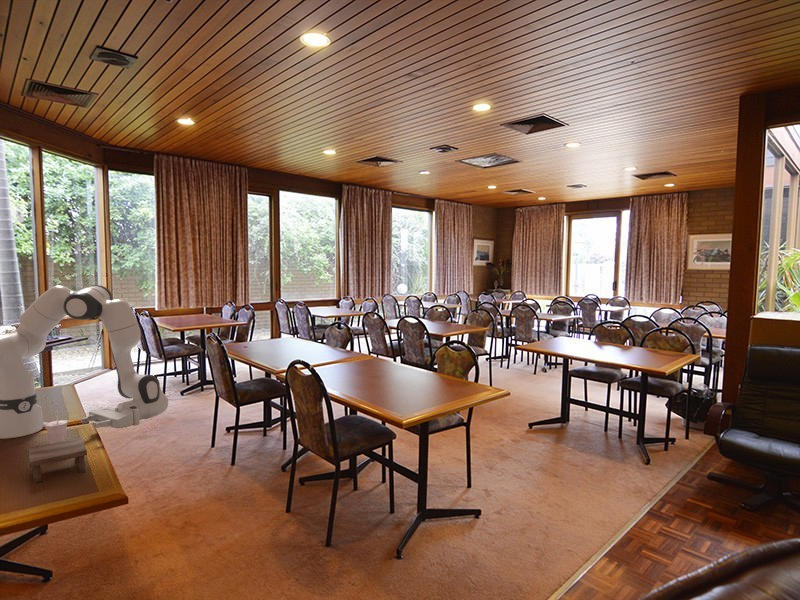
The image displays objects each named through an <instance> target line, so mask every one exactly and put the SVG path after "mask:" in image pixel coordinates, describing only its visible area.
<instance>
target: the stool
mask: <svg viewBox="0 0 800 600" xmlns="http://www.w3.org/2000/svg"><path fill="white" fill-rule="evenodd" d="M87 451H88V450H87V447H86V444H85V443H84V440H83V437H78V438H72V439H67V440H66V439H65V441H61V442H56V443H51V444H50V443H47V444H42V445H35V446H32V447H28V456H29V457H28V459H29V468H32V478H33V484H39V483H40V482H42V475H41V474H42V473H41V466H42V465H48V464H53V463H56V462H61V461H66V460H71V459H74V462H77V472H78V473H79V474H81V473H84V472H85V471H86V467H85V466H86V465H85V456H88V452H87Z"/></svg>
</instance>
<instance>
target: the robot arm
mask: <svg viewBox="0 0 800 600" xmlns="http://www.w3.org/2000/svg"><path fill="white" fill-rule="evenodd" d="M66 316H69V318H71V319H74V320H81V321H84V320H85V321H87V320H89V321H90V320H91V321H95V320H98V319H100V320H101V322H102V323H103V325H104V327H105V331H106V333H107V335H108V340H109V342H110V350H111V356H112V360H113V364H114V366H115V370H116V374H117V391H118V394H119V395H120V396H121V397H122V398H125V399H129V400H128V401H123V402H120V403H118V404H117V406H116V407H110V406H108V407H106V406H105V407H101V408H95V409H92V410H89V412H88V415H87V416H85V417H82V418H80V423H82V424H88V423H89V422H94V424H93V427H94V428H95V429H99V428H100V429H101V428H105V427H110V428H112V429H123V428H127V427H128V428H129V427H131V426H133V427H135V426H139V425H140V421H141V420H148V419H151V418H154V417H157V416H159V415H162V414H163V413H164V412H166V411H167V409H168V407H169V399H168V396H167V395H166V394H165V393H164V392H163V390H162V388H161V384H160V380H159V379H158V377H157V376H155V375H152V374H139V373H138V372H137V371H136V369H135V367H134V363H133V359H132V354H131V351H132V349H133V348H134V347H135V346H136V345H138V344H139V342H140V340H141V338H142V333H141V328H140V325H139V322H138V320H137V318H136V315H135V313H134V311H133V309H132V308H131V306H130V304H129V303H128V302H127V301H126V300H125V299H118V298H115V299H113V294H112V292H111V291H110V289H109V288H108V287H106V286H103V285H98V284H97V285H96V284H94V285H88V286H86V287H82V288H79V289H78V290H72V289H71V288H69V287H67V286H64V285H58V284H57V285H54V286H51V287H50V288H48V289H47V290H46V291H44V292H43V293H41V294H40V295H39V296H38V297H37V298H36V299H35V300H34V301H33V302H32V303H31V304H30V305H29V306H28V307H27V308H26V310H25V311H23V313H22V314H21V315H20V316H19V320H18V321H19V326H18V327H17V328H16V329H14V330H13V331H10V332H6V333H2V334H0V439H13V438H19V437H24V436H29V435H32V434H36V433H37V432H39V431H41V430H43V428H45V425H46V424H47V423H48V422H47V421H44V417H43V416H44V415H43V408H42V406H41V405H39V404H38V395H37V393H36V386H35V385H36V384H35V375H34V373H33V372H31V371H30V370H28V369H27V367H26V366H25V363H24V360H25V359H29V358H32V357H35V356H36V355H39V353H41V352H43V351H44V350H45V348H46V346H47V340H46V339H47V337H48V335H49V334H50V333H51V332H52V331H53V329H55V328H56V326H57V325H58V324H59V323H61V321H62V320H63V319H64V318H65V317H66ZM130 399H132V400H130Z"/></svg>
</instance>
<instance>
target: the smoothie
mask: <svg viewBox="0 0 800 600" xmlns="http://www.w3.org/2000/svg"><path fill="white" fill-rule="evenodd" d="M55 417H56V420H52V421H50V422H47V424H46V425H45V427H44V428H45V429H46V432H47V436H48V441H49V444H51V443H56V442H61V441H66V436H67V426H68V424H69V423H68V420H66V419H65V420H64V419H61V420H59V410H55Z"/></svg>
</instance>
